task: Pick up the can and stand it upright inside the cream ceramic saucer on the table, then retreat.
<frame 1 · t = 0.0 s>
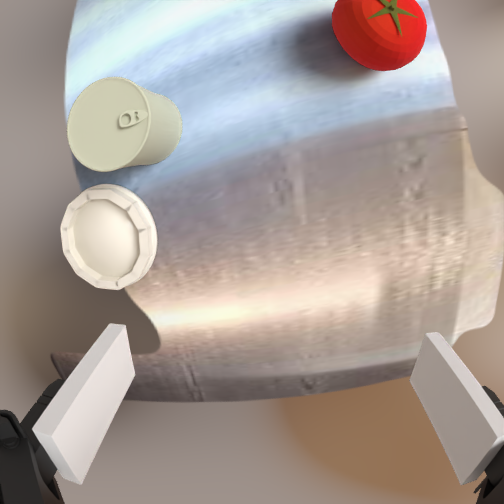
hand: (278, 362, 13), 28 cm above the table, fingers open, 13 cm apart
can: (147, 128, 37), on the table
saucer: (109, 236, 41), on the table
tomato: (366, 39, 32), on the table
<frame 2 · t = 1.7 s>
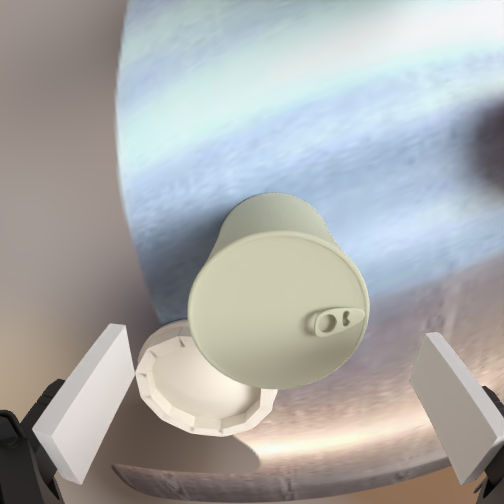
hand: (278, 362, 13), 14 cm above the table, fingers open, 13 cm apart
can: (274, 248, 27), on the table
saucer: (206, 378, 31), on the table
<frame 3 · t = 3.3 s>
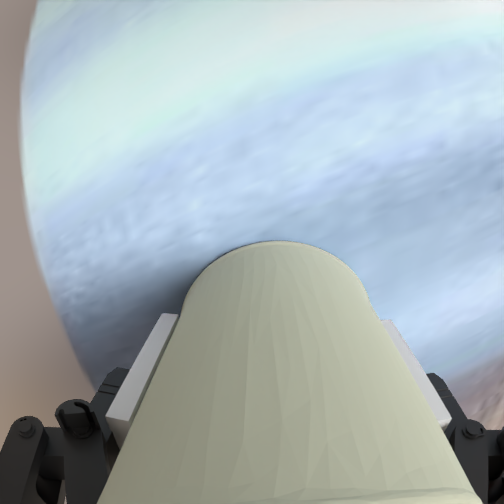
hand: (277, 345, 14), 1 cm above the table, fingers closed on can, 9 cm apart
can: (276, 331, 15), on the table, touching gripper
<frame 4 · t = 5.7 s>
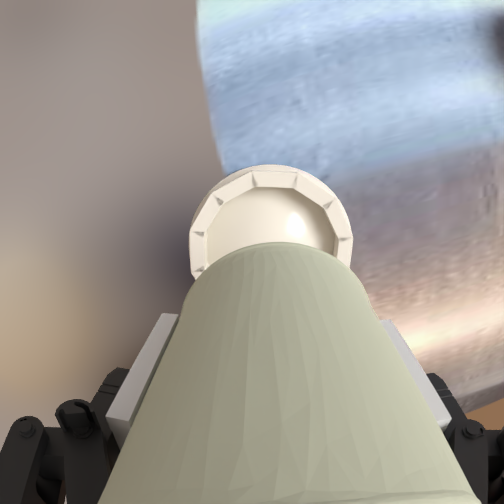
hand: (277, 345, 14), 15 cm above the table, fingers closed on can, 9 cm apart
can: (276, 332, 15), point 14 cm above the table, touching gripper
saucer: (270, 246, 29), on the table
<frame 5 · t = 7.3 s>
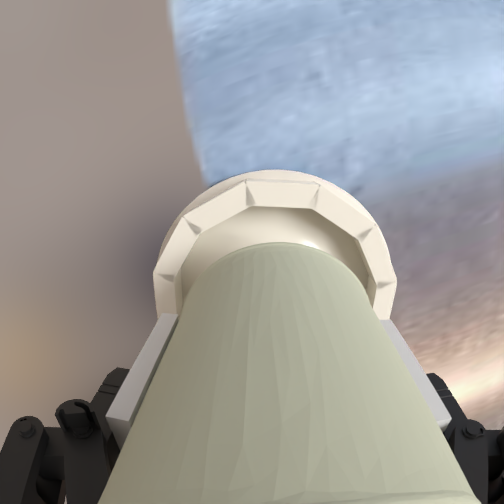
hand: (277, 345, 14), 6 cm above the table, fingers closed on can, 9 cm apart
can: (276, 332, 15), point 5 cm above the table, touching gripper
saucer: (274, 290, 20), on the table
when the fingers open (4 cm above the table, at t = 8.3 s): can drops 2 cm, resting on saucer.
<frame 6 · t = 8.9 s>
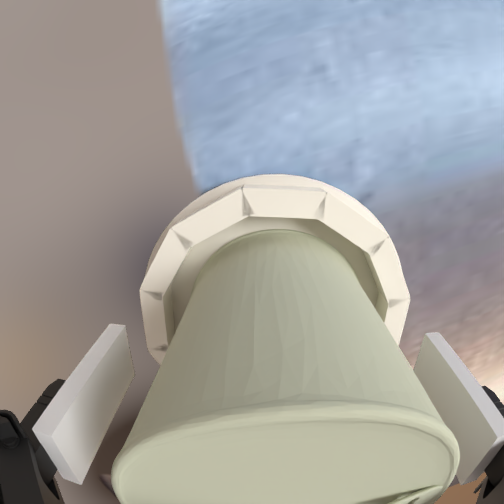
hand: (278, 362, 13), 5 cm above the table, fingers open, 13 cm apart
can: (277, 311, 17), point 1 cm above the table, touching saucer
saucer: (274, 307, 18), on the table
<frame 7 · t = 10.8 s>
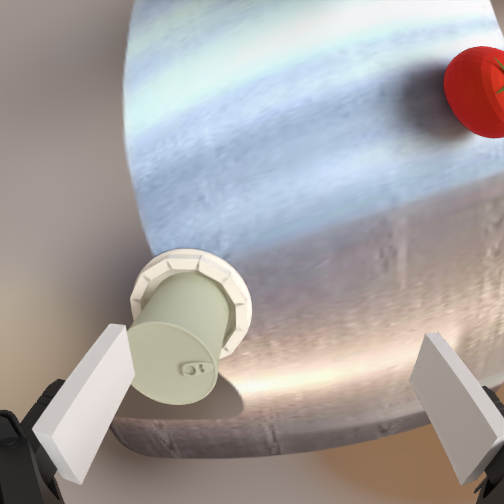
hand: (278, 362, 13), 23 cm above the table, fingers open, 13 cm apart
can: (190, 308, 37), point 1 cm above the table, touching saucer
saucer: (191, 306, 38), on the table
tomato: (463, 96, 29), on the table
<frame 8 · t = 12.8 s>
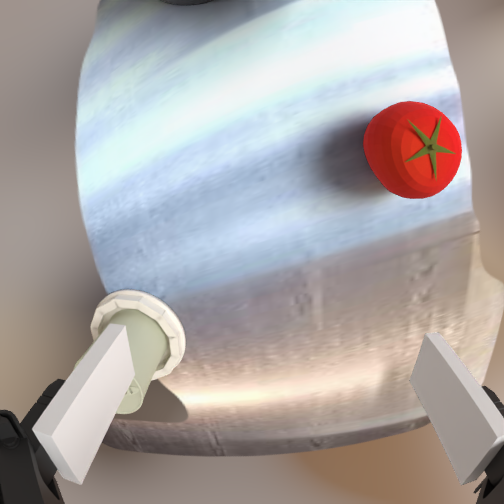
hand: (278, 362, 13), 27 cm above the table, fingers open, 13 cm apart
can: (137, 335, 43), point 1 cm above the table, touching saucer
saucer: (138, 333, 44), on the table
tomato: (394, 147, 35), on the table
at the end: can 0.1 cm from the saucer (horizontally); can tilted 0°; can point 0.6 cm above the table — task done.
